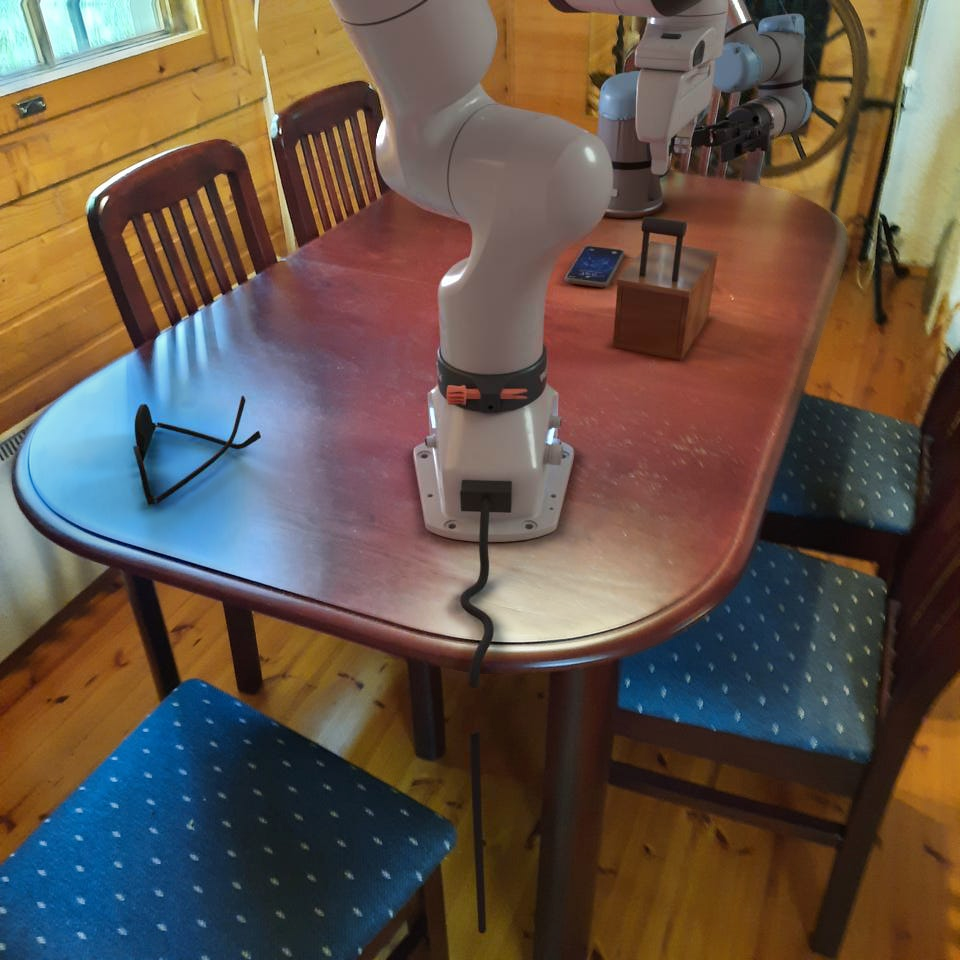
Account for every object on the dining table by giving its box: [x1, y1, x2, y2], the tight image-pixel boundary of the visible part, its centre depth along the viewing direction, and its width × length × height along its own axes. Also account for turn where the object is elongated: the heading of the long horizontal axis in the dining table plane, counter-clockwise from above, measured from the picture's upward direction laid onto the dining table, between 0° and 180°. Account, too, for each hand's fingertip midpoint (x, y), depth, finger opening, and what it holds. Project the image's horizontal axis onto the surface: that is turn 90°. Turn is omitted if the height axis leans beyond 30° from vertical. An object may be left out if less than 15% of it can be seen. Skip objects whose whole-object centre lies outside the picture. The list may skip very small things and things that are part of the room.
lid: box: [616, 216, 719, 298], centre depth 117 cm, size 15×10×9 cm, turn 153°
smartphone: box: [564, 245, 625, 288], centre depth 144 cm, size 7×1×15 cm
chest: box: [612, 257, 718, 362], centre depth 123 cm, size 15×10×10 cm
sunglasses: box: [132, 395, 262, 506], centre depth 100 cm, size 17×14×5 cm
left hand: (671, 162), depth 106 cm, fingers open, 8 cm apart
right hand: (684, 153), depth 136 cm, fingers open, 13 cm apart
